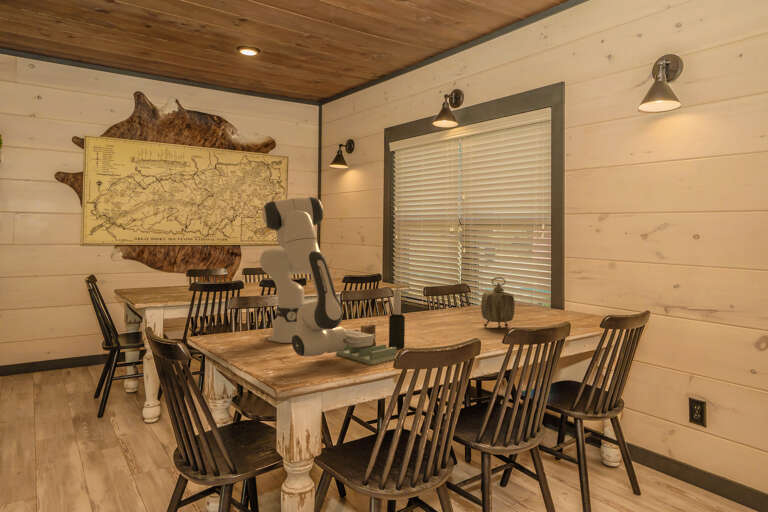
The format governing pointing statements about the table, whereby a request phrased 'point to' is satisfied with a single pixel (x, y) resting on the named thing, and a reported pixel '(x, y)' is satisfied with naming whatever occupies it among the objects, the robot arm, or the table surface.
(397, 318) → the candle
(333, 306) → the robot arm
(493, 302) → the tabletop clock
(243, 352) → the table surface
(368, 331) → the block
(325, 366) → the table surface
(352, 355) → the rack
